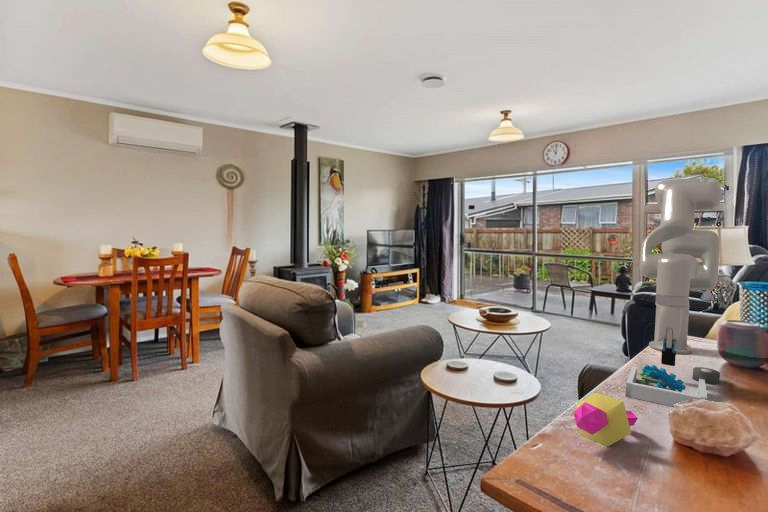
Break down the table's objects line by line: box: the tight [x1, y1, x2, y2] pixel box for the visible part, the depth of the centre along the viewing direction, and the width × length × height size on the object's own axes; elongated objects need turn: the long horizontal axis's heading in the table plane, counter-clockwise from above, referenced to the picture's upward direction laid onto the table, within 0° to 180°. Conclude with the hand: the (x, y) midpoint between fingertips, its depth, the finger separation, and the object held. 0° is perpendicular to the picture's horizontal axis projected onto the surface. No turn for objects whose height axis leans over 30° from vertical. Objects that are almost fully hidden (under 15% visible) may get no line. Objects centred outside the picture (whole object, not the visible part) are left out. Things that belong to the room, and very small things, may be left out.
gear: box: [639, 364, 687, 393], centre depth 107 cm, size 11×6×10 cm
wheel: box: [692, 366, 721, 386], centre depth 115 cm, size 6×6×3 cm
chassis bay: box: [625, 366, 708, 407], centre depth 105 cm, size 15×16×4 cm
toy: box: [573, 392, 639, 447], centre depth 83 cm, size 10×18×10 cm, turn 126°
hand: (668, 364), depth 115 cm, fingers closed
